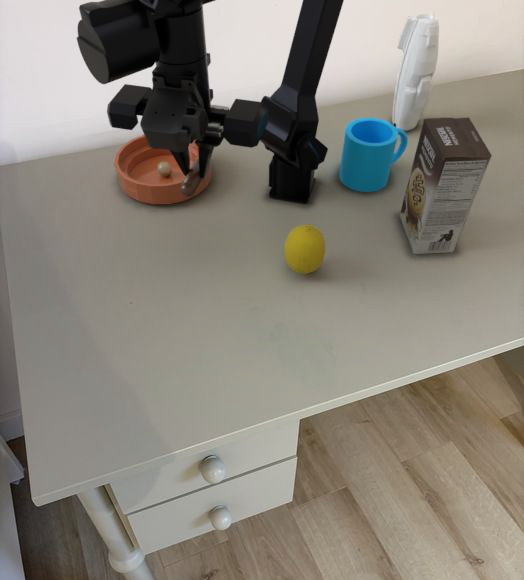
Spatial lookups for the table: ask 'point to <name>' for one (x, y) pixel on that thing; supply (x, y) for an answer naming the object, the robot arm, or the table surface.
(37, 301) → the table surface
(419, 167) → the coffee box
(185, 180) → the brown sausage
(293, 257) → the lemon
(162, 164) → the bead
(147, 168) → the bowl
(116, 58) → the robot arm
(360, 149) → the mug
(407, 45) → the white tall rounded piece
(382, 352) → the table surface
